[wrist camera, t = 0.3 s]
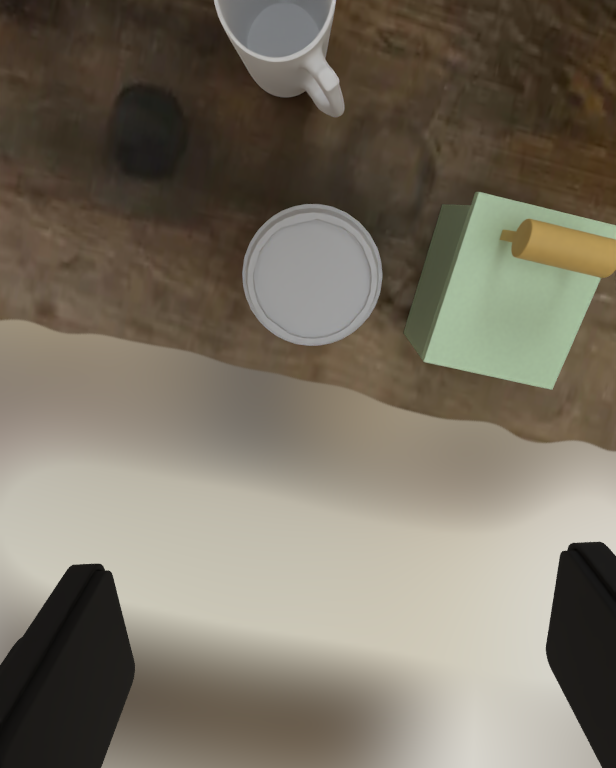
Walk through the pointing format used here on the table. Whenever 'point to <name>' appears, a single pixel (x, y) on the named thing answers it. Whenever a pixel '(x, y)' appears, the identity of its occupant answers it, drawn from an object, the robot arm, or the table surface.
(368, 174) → the table surface
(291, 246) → the disposable coffee cup
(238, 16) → the mug
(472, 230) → the lid
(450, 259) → the chest
